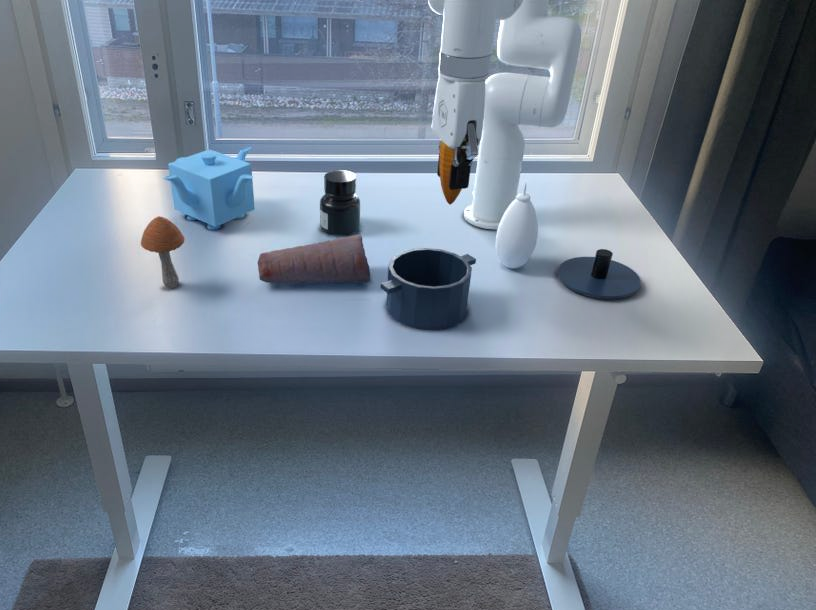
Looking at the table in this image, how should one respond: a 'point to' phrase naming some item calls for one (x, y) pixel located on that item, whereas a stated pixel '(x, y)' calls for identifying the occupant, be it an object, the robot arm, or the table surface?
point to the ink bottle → (340, 204)
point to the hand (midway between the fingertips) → (452, 180)
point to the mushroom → (163, 246)
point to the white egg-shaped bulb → (517, 232)
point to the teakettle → (212, 186)
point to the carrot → (448, 171)
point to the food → (316, 263)
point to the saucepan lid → (599, 276)
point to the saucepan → (428, 287)
